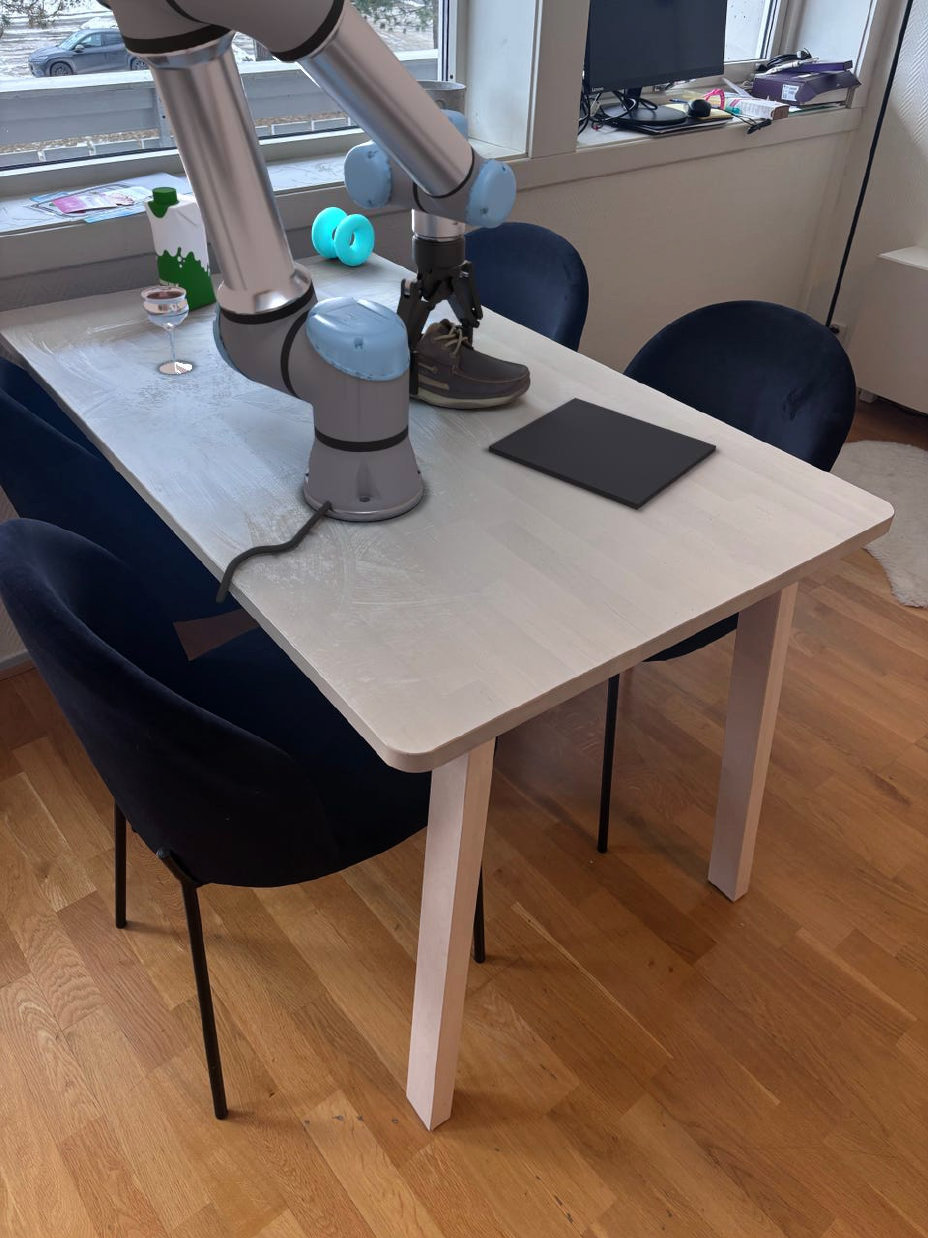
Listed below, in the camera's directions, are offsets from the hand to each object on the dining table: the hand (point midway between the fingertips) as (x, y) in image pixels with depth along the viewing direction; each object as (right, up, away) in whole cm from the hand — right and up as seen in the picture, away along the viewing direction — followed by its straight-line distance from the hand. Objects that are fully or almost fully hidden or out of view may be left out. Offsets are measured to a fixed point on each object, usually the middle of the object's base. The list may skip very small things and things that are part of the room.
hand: (436, 379), depth 148 cm
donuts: (-21, +38, +53) cm, 68 cm away
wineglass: (-42, +3, +6) cm, 43 cm away
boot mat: (+24, -13, -13) cm, 30 cm away
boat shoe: (0, -2, +1) cm, 2 cm away
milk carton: (-47, +22, +30) cm, 60 cm away
